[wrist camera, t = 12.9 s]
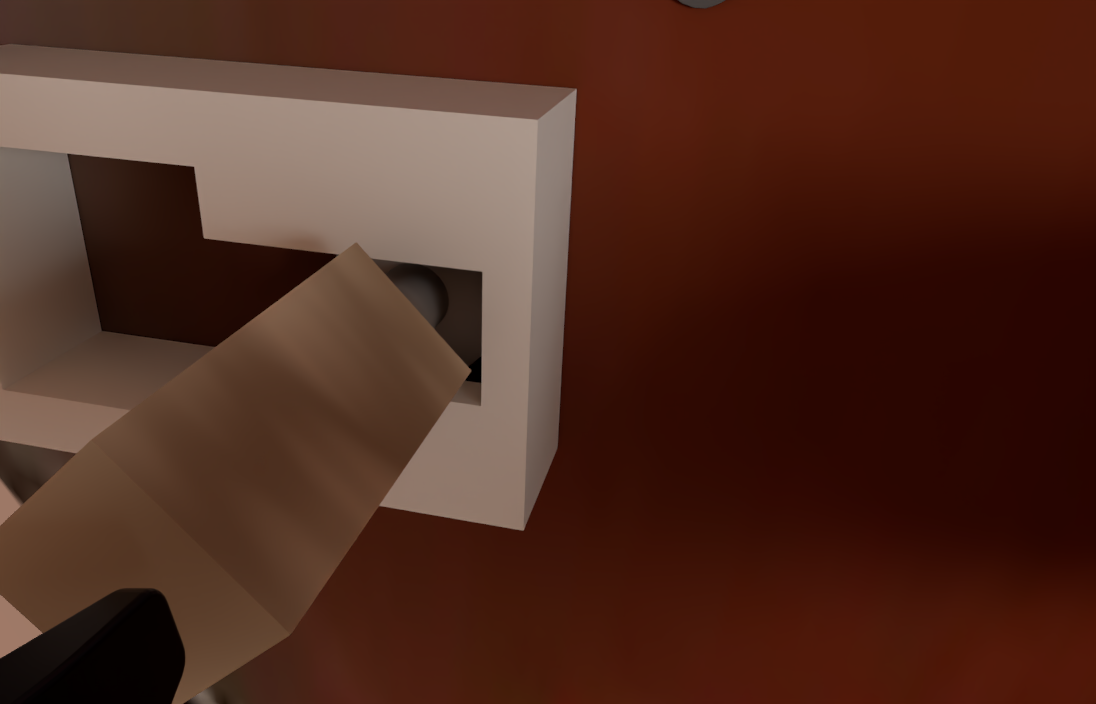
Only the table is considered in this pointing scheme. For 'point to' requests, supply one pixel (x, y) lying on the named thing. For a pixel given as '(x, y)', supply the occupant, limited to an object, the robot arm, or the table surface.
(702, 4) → the tablet
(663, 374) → the table surface
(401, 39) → the table surface
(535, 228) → the keyhole block
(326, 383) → the maple peg
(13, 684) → the robot arm
